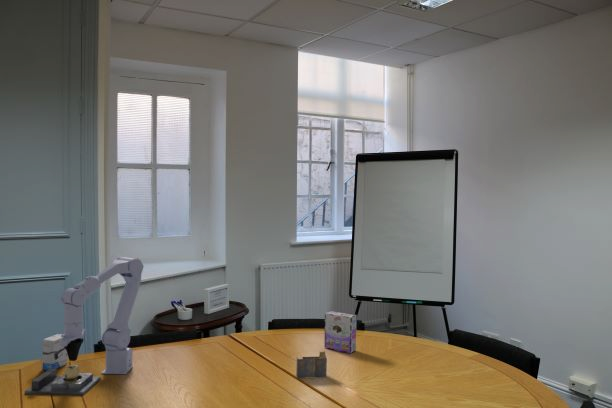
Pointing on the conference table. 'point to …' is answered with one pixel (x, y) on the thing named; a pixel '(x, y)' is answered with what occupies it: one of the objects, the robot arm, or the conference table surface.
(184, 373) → the conference table surface
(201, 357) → the conference table surface
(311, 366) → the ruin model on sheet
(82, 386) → the jig
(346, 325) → the candy box
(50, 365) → the ink box
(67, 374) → the bushing
